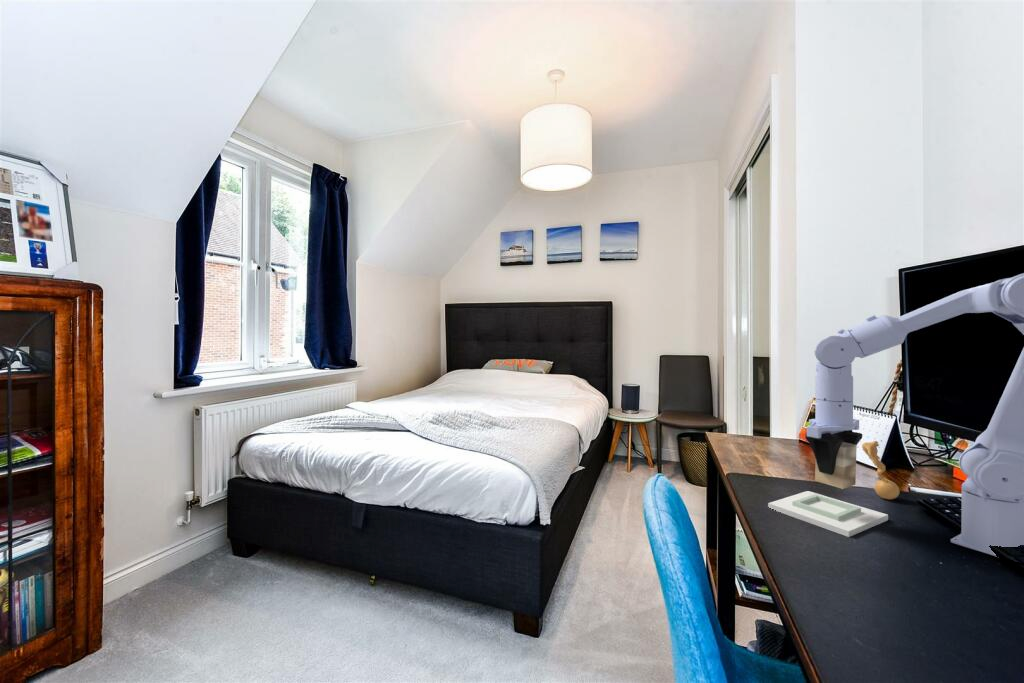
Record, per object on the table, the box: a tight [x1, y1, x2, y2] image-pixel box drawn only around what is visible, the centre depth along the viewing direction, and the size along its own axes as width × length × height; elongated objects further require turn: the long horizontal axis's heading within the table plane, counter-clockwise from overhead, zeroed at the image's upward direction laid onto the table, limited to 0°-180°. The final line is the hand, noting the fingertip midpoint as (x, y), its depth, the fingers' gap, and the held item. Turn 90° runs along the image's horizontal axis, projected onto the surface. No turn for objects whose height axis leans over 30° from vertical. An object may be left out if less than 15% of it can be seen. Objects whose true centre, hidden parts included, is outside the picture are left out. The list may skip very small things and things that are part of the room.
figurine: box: [861, 440, 900, 500], centre depth 90 cm, size 8×6×12 cm
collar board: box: [767, 490, 889, 538], centre depth 83 cm, size 14×14×2 cm
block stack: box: [814, 442, 858, 490], centre depth 80 cm, size 5×5×8 cm
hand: (833, 470), depth 81 cm, fingers closed on block stack, 5 cm apart
